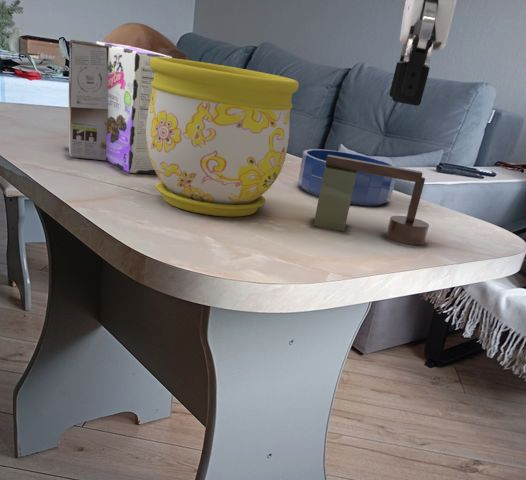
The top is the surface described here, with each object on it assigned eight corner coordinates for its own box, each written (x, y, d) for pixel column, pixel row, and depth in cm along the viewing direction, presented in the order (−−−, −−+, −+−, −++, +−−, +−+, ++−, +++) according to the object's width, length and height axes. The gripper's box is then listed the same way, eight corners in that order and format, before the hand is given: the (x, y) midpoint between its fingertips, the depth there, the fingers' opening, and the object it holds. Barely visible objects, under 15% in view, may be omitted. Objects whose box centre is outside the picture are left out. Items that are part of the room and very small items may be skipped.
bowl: (388, 193, 107) (395, 161, 105) (390, 212, 93) (399, 176, 91) (302, 177, 108) (308, 145, 106) (292, 194, 94) (299, 157, 92)
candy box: (91, 153, 99) (94, 39, 92) (125, 154, 102) (131, 45, 95) (128, 174, 89) (135, 49, 82) (164, 174, 93) (174, 55, 86)
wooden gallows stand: (422, 237, 82) (440, 172, 79) (425, 247, 78) (444, 179, 74) (316, 217, 84) (328, 152, 80) (313, 226, 79) (326, 158, 75)
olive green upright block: (345, 223, 83) (357, 168, 80) (344, 231, 79) (356, 173, 76) (316, 218, 83) (326, 162, 80) (313, 225, 79) (324, 167, 76)
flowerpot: (282, 201, 89) (302, 79, 82) (270, 233, 73) (294, 84, 66) (160, 179, 90) (170, 56, 82) (122, 206, 74) (130, 56, 66)
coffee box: (112, 162, 96) (117, 48, 88) (69, 157, 93) (70, 40, 86) (107, 150, 103) (111, 44, 96) (67, 146, 101) (68, 37, 94)
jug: (90, 151, 100) (232, 182, 121) (126, 26, 91) (273, 82, 112) (47, 103, 112) (183, 139, 132) (76, -11, 103) (217, 46, 123)
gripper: (495, -79, 58) (442, 112, 66) (468, -49, 74) (428, 102, 81) (416, -93, 59) (372, 98, 66) (406, -60, 74) (372, 92, 82)
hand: (403, 100), depth 74 cm, fingers open, 9 cm apart
